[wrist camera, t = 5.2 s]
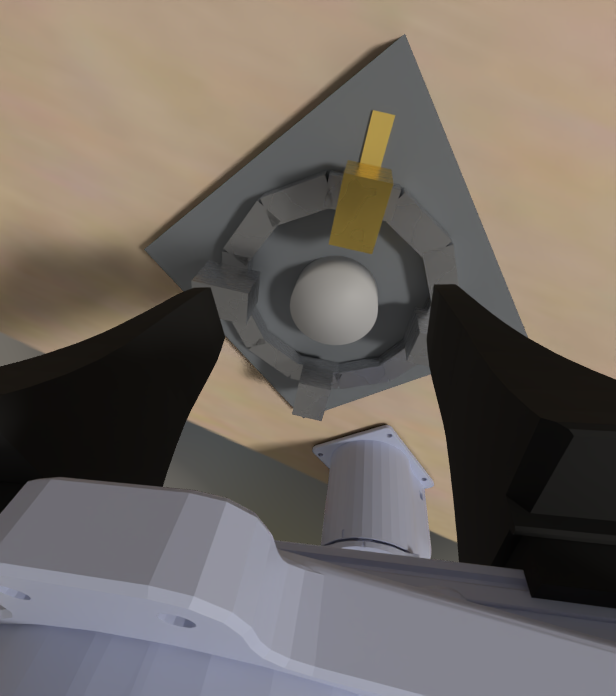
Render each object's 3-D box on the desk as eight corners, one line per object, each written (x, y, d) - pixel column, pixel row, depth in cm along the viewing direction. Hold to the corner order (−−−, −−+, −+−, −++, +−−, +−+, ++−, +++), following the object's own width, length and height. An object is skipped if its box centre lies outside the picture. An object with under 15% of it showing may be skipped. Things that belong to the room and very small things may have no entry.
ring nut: (526, 194, 16) (555, 219, 14) (413, 404, 26) (417, 443, 23) (214, 125, 17) (183, 137, 14) (215, 358, 26) (197, 392, 23)
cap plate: (522, 328, 22) (539, 359, 20) (305, 407, 30) (299, 435, 28) (403, 35, 15) (408, 30, 12) (153, 241, 22) (127, 261, 20)
